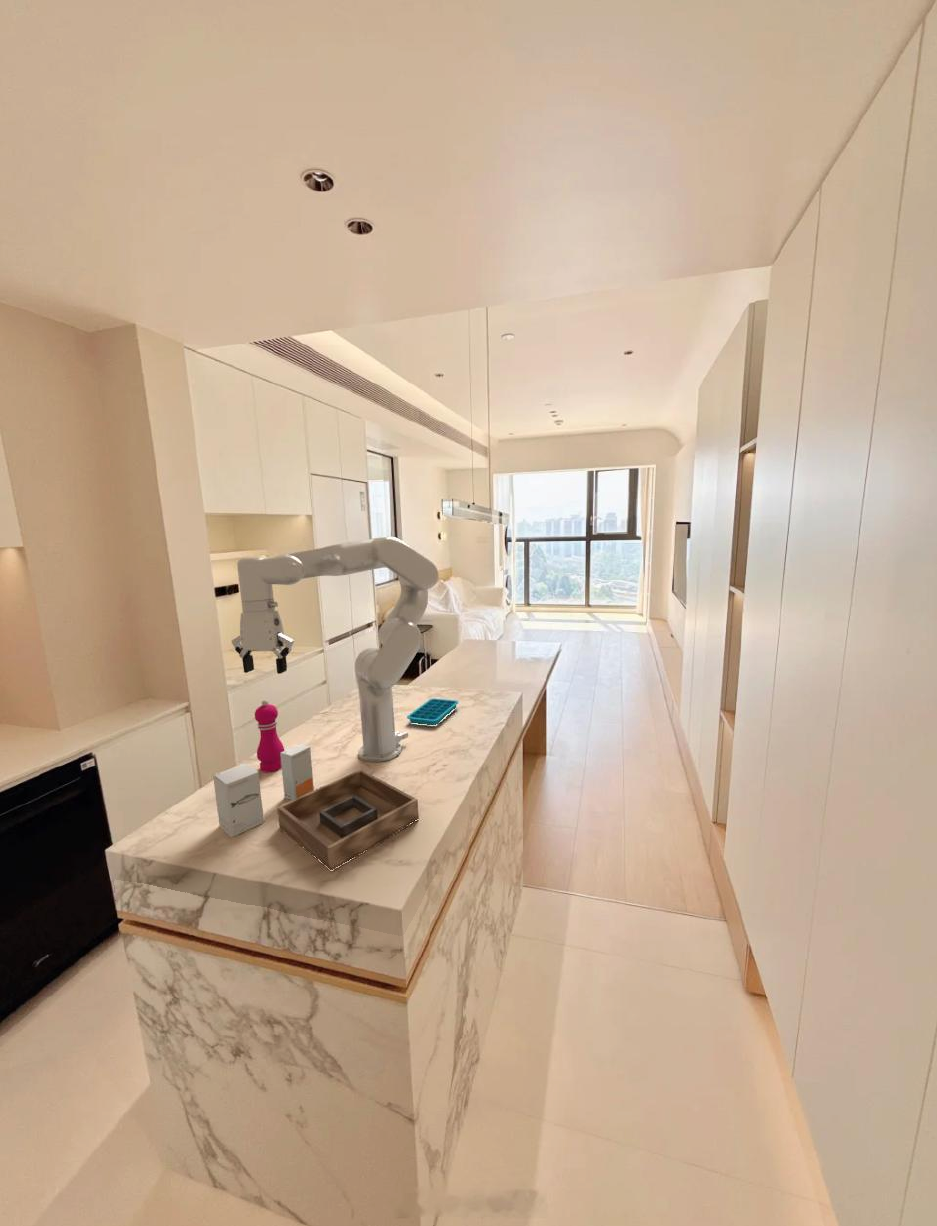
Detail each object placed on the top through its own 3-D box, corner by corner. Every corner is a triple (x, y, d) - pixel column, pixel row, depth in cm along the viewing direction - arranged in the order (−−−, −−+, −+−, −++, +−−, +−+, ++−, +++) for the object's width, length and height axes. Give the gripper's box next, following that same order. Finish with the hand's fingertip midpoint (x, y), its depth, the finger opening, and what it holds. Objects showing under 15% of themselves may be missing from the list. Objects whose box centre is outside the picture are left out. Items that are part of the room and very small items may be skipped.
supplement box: (231, 838, 103) (224, 784, 101) (218, 825, 108) (211, 773, 106) (265, 823, 108) (259, 771, 106) (251, 811, 113) (245, 761, 111)
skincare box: (295, 802, 116) (290, 756, 115) (284, 797, 119) (279, 752, 117) (315, 790, 122) (310, 746, 120) (304, 786, 124) (299, 743, 122)
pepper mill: (276, 774, 131) (268, 704, 128) (253, 772, 132) (244, 704, 129) (291, 761, 138) (283, 695, 135) (268, 760, 139) (261, 695, 136)
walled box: (362, 787, 122) (361, 769, 121) (418, 819, 107) (417, 799, 106) (279, 827, 106) (277, 806, 105) (331, 872, 91) (329, 848, 90)
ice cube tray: (405, 725, 162) (405, 717, 162) (432, 705, 180) (431, 698, 180) (436, 729, 158) (436, 721, 157) (460, 708, 176) (459, 700, 176)
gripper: (297, 604, 122) (303, 668, 125) (238, 604, 126) (246, 667, 129) (279, 608, 115) (286, 677, 118) (218, 608, 119) (226, 675, 121)
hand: (265, 671), depth 123 cm, fingers open, 9 cm apart
